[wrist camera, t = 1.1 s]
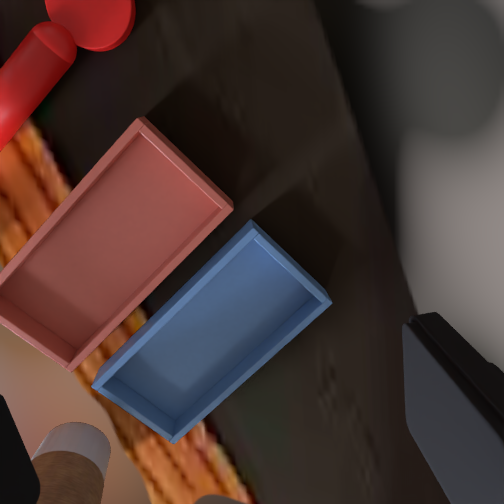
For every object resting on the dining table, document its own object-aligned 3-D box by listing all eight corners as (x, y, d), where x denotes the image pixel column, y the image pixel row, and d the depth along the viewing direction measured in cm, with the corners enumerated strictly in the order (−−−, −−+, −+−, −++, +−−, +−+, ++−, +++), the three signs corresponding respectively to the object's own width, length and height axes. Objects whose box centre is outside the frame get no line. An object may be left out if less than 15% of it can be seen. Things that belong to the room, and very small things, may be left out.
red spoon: (9, 178, 31) (-11, 186, 28) (-57, 125, 29) (-84, 127, 27) (152, 8, 28) (145, -2, 25) (87, -61, 26) (72, -79, 24)
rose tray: (-11, 289, 33) (-28, 303, 31) (143, 116, 30) (137, 117, 28) (80, 355, 36) (71, 373, 34) (233, 201, 32) (234, 209, 30)
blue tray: (99, 368, 36) (90, 386, 34) (251, 218, 33) (253, 227, 31) (176, 424, 39) (173, 444, 36) (325, 289, 35) (333, 303, 33)
